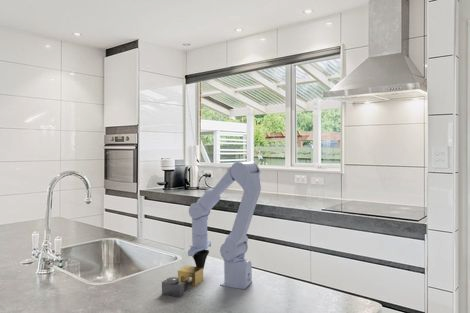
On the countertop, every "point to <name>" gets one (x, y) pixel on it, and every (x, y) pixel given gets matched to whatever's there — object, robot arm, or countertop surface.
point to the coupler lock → (191, 274)
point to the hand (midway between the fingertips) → (200, 269)
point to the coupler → (173, 287)
